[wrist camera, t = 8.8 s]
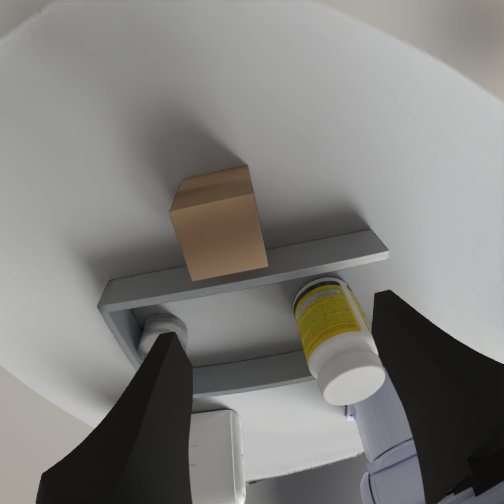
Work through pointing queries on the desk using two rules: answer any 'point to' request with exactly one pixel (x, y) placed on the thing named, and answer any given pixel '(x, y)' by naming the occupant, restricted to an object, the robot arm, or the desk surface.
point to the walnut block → (218, 224)
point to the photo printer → (216, 458)
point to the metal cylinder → (158, 326)
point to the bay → (279, 269)
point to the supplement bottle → (337, 342)
